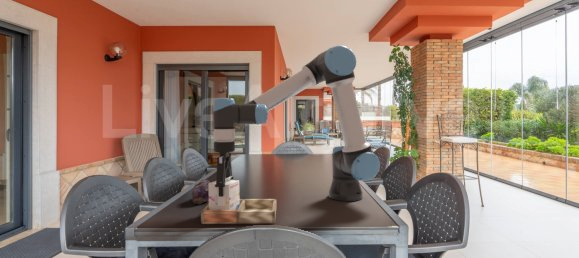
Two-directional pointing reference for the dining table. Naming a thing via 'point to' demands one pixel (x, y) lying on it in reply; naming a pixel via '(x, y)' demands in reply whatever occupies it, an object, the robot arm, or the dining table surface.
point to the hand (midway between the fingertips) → (224, 201)
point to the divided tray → (242, 213)
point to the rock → (201, 192)
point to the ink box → (231, 195)
